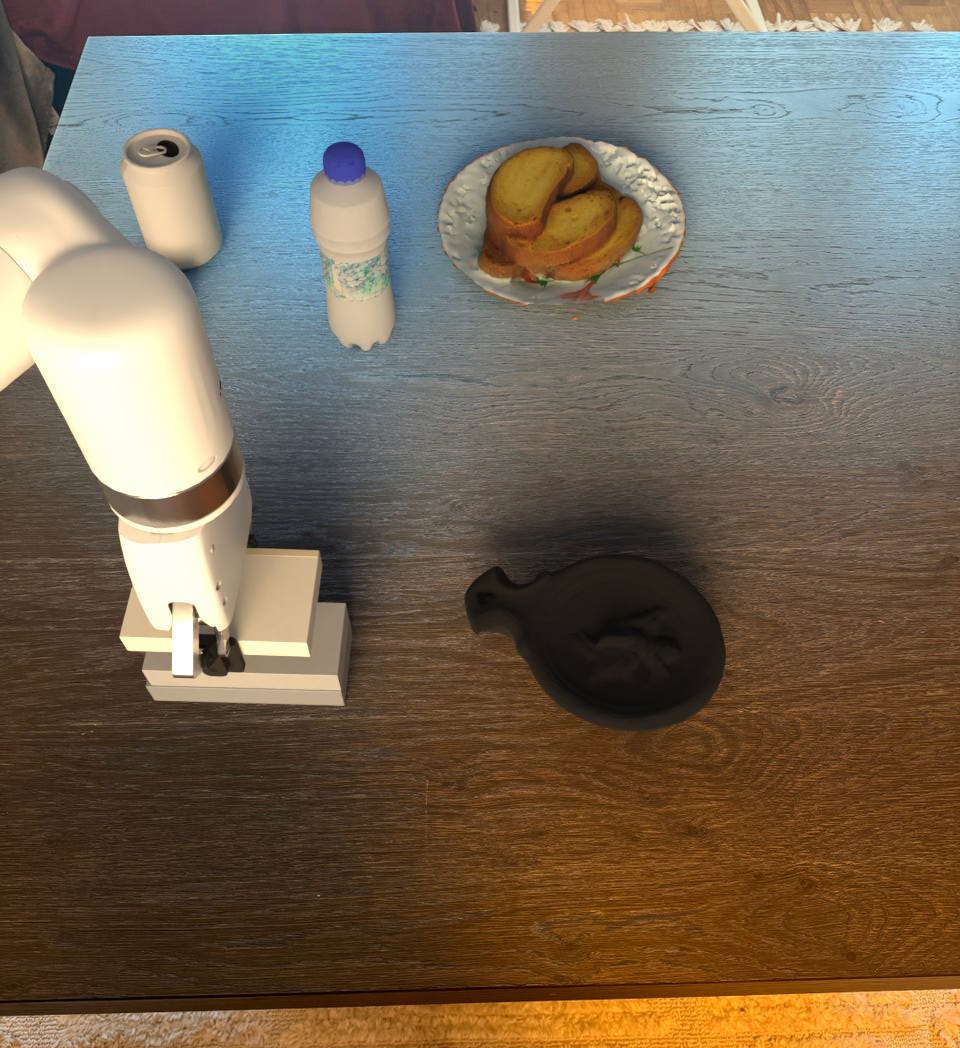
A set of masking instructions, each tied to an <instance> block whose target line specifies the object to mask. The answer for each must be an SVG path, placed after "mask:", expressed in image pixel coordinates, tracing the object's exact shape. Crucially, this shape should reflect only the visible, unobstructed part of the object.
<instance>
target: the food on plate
mask: <svg viewBox="0 0 960 1048" xmlns="http://www.w3.org/2000/svg"><path fill="white" fill-rule="evenodd" d="M438 208H439V209H438V211H437V210H436V213H437V227H436V230H437V233H439V235H440V236H441V250H443V251H444V253H445V255H446V256H447V258H448V259H449V260H451V262H452V266H453V267H454V268H455V269H457V270H459V269H460V270H461V271H462V272H463V273H464V274H465V276H467V277H468V279H470V280H471V281H473V283H474V285H477V286H480V287H482V288H483V290H484V292H485V293H488V294H490V295H496V296H497V297H498V298H500V299H505V300H506V301H507V302H511V303H515V304H519V305H522V306H525V307H526V306H528V305H533V304H534V305H547V304H549V305H554V306H561V305H563V304H583V303H589V302H594V301H601V300H603V301H604V303H605V304H606V303H610V302H613V301H614V302H617V301H619V300H621V299H623V298H626V297H628V296H631V295H632V296H634V294H635V293H637V295H639V294H640V293H642V292H643V291H644V290H646V289H647V288H648V289H647V293H649V294H653V293H656V292H657V290H656V288H655V285H656V284H657V283H658V282H659V281H660V280H661V279H662V277H663V276H664V275H666V273H668V272H669V270H670V269H671V266H672V264H673V263H674V262H675V260H676V259H677V258H678V257H679V254H680V251H681V248H682V247H683V245H684V238H685V237H686V236H687V235H686V233H687V217H686V214H687V212H686V209H685V207H684V206H683V205H682V198H681V196H680V192H679V191H678V189H677V188H676V187H675V186H674V185H673V183H672V182H671V181H670V179H669V178H668V176H666V175H665V174H663V172H662V171H661V170H660V169H659V168H658V167H657V166H655V165H653V163H651V162H650V161H649V160H648V159H647V158H646V157H643V156H638V155H637V154H636V153H634V152H633V151H631V149H629V148H628V147H627V146H616V145H614V144H611V143H609V142H605V141H602V140H599V141H596V142H594V141H593V140H592V139H585V138H583V137H578V136H557V137H554V136H548V137H544V138H535V139H532V138H530V139H523V140H521V141H518V142H515V143H510V144H507V145H502V146H500V147H497V148H496V149H493V150H491V151H489V152H487V153H485V154H484V153H483V154H481V155H480V156H479V157H477V158H475V159H473V161H471V162H470V163H468V164H466V165H465V166H463V167H462V168H461V170H459V171H457V172H456V175H455V177H453V178H452V179H451V180H449V181H448V182H447V186H446V187H445V188H444V191H443V194H442V198H441V201H440V202H439V204H438ZM649 287H650V288H649ZM535 298H538V299H539V301H531V300H535ZM578 319H579V318H578V317H573V318H572V321H577V320H578Z"/></svg>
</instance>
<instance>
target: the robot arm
mask: <svg viewBox="0 0 960 1048" xmlns="http://www.w3.org/2000/svg"><path fill="white" fill-rule="evenodd" d="M34 364H35V365H36V367H37V368H38V370H39V372H40V374H41V376H42V378H43V380H44V382H45V384H46V386H47V388H48V389H49V391H50V394H51V395H52V398H53V399H54V401H55V403H56V404H57V407H58V409H59V410H60V412H61V414H62V416H63V418H64V420H65V422H66V424H67V426H68V427H69V430H70V431H71V434H72V435H73V438H74V439H75V441H76V443H77V446H78V447H79V449H80V451H81V453H82V455H83V457H84V459H85V461H86V462H87V464H88V466H89V469H90V470H91V473H92V474H93V476H94V478H95V480H96V482H97V484H98V486H99V488H100V490H101V492H102V494H103V495H104V498H105V499H106V501H107V503H108V505H109V506H110V507H109V508H110V509H111V510H112V512H113V513H114V514H115V515H116V516H117V517H118V524H117V525H118V527H117V530H118V537H119V541H120V542H119V543H120V547H121V551H122V555H123V559H124V563H125V567H126V569H127V572H128V575H129V578H130V581H131V583H132V585H133V586H134V588H135V591H136V593H137V596H138V598H139V601H140V603H141V605H142V607H143V609H144V611H145V614H146V616H147V618H148V619H149V621H150V623H151V624H152V625H153V627H154V628H155V629H158V630H167V631H169V630H170V628H171V625H172V675H173V677H174V678H196V677H197V676H198V675H199V674H200V673H201V672H203V673H204V674H206V675H208V676H216V677H223V676H226V675H227V674H228V672H244V670H245V664H246V663H245V661H244V658H243V656H242V653H241V651H240V648H239V646H238V644H237V641H236V639H235V638H233V637H229V631H228V626H229V624H230V623H231V621H232V618H233V614H234V610H235V606H236V601H237V596H238V590H239V585H240V580H241V575H242V569H243V564H244V558H245V553H246V548H260V547H259V545H258V541H257V538H256V535H255V534H254V533H251V532H252V529H253V518H252V516H253V499H252V494H251V489H250V485H249V482H248V478H247V475H246V463H245V458H244V455H243V454H244V453H243V451H242V448H241V444H240V441H239V437H238V434H237V430H236V427H235V424H234V420H233V417H232V414H231V411H230V407H229V403H228V399H227V397H226V394H225V390H224V386H223V383H222V380H221V379H222V378H221V376H220V373H219V369H218V366H217V362H216V358H215V355H214V352H213V349H212V345H211V342H210V339H209V335H208V332H207V329H206V324H205V322H204V318H203V315H202V311H201V308H200V305H199V301H198V299H197V295H196V292H195V290H194V287H193V286H192V284H191V282H190V280H189V279H188V277H187V276H186V274H185V273H184V272H183V270H180V269H179V268H178V267H177V266H176V265H175V264H174V263H173V262H172V261H170V260H169V259H167V258H166V257H164V256H163V255H161V254H159V253H157V252H154V251H152V250H150V249H147V247H145V246H144V247H143V246H141V245H136V244H134V243H133V242H132V241H131V240H130V239H129V238H128V237H126V235H124V234H123V233H122V232H121V231H120V230H119V229H118V228H117V227H116V226H115V225H114V224H113V223H112V222H110V220H109V219H108V218H106V216H104V214H103V213H102V212H101V211H100V209H99V207H98V206H97V205H96V203H94V202H93V200H92V199H91V197H90V196H88V195H87V193H86V192H84V191H83V190H82V189H81V188H80V187H78V186H77V185H76V184H74V183H72V182H70V181H67V180H64V179H62V178H61V177H60V176H58V175H55V174H54V173H53V172H50V171H48V170H45V169H43V168H40V167H35V166H21V167H20V166H19V167H16V168H12V169H10V170H7V171H4V172H1V173H0V393H1V392H2V391H3V390H5V389H6V388H7V387H8V386H10V384H12V383H13V382H14V381H15V380H17V379H18V378H19V377H21V375H23V374H24V373H25V372H26V371H27V370H29V369H30V368H31V367H33V365H34ZM199 625H209V626H211V627H214V631H215V634H199Z"/></svg>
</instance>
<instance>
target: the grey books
mask: <svg viewBox="0 0 960 1048" xmlns="http://www.w3.org/2000/svg"><path fill="white" fill-rule="evenodd" d="M352 643H353V629H352V624H351V619H350V616H349V611H348V606H347V603H346V602H328V601H327V602H324V601H318V603H317V610H316V618H315V625H314V633H313V641H312V648H311V656H310V657H304V656H274V655H244V654H242V656H243V658H244V661H245V663H246V664H245V670H244V672H228V674H227V675H226V676H223V677H216V676H208V675H206V674H204V673H203V672H201V673H200V674H199V675H198V676H197V677H196V678H174V677H173V675H172V652H155V651H145V655H144V659H143V663H142V667H141V672H142V674H143V675H144V676H145V678H146V684H145V688H146V689H147V691H148V692H149V694H150V696H151V697H152V699H153V700H154V701H156V702H157V701H159V702H160V701H161V702H191V703H192V702H197V703H198V702H199V703H228V704H229V703H232V704H233V703H235V704H265V705H266V704H267V705H268V704H271V705H303V706H304V705H306V706H313V705H314V706H339V707H340V706H341V707H342V706H345V705H346V696H347V689H348V688H347V687H348V679H349V669H350V663H351V662H350V661H351V660H350V659H351V652H352Z"/></svg>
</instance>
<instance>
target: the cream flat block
mask: <svg viewBox="0 0 960 1048" xmlns="http://www.w3.org/2000/svg"><path fill="white" fill-rule="evenodd" d="M322 572H323V562H322V557H321V552H320V550H319V549H293V548H264V547H263V548H262V547H259V548H246V553H245V558H244V564H243V569H242V575H241V580H240V585H239V590H238V596H237V601H236V606H235V610H234V614H233V618H232V621H231V623H230V624H229V626H228V631H229V637H233V638H235V639H236V641H237V644H238V646H239V648H240V651H241V653H242V654H244V655H274V656H304V657H310V656H311V648H312V641H313V633H314V625H315V618H316V610H317V603H318V602H319V595H320V587H321V581H322V580H321V579H322ZM199 634H215V631H214V627H211V626H209V625H199ZM118 637H119V639H120V641H121V642H122V644H123V646H124V647H125V649H126V650H127V651H130V652H146V651H155V652H172V625H171V628H170V630H169V631H167V630H158V629H155V628H154V627H153V625H152V624H151V623H150V621H149V619H148V618H147V616H146V614H145V611H144V609H143V607H142V605H141V603H140V601H139V598H138V596H137V593H136V591H135V588H134V586H133V584H132V585H131V590H130V594H129V597H128V601H127V605H126V609H125V613H124V616H123V619H122V625H121V629H120V633H119V636H118Z"/></svg>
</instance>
